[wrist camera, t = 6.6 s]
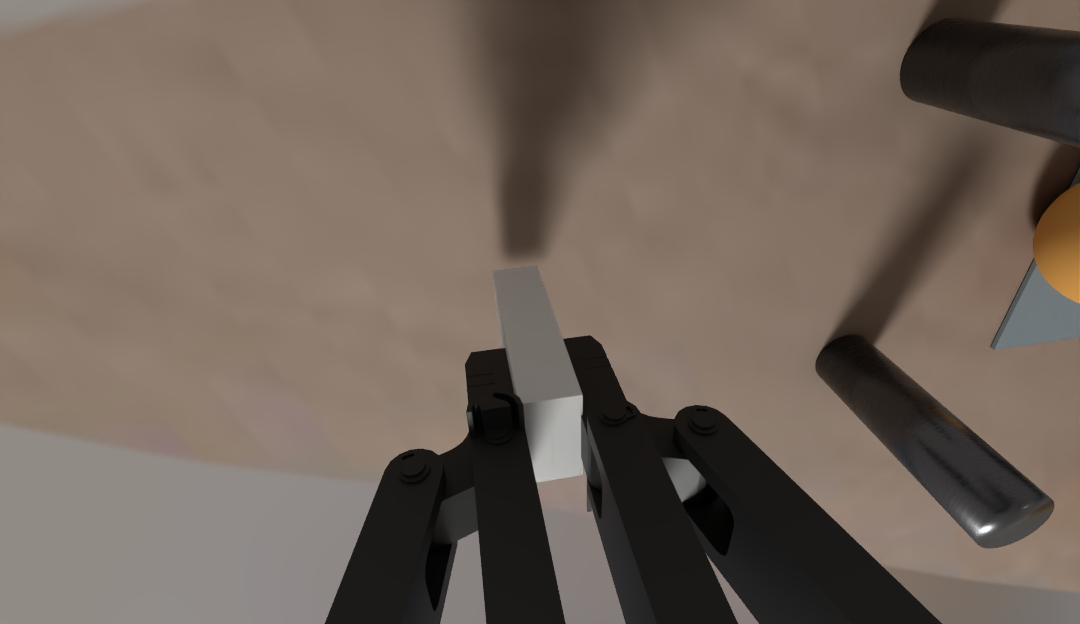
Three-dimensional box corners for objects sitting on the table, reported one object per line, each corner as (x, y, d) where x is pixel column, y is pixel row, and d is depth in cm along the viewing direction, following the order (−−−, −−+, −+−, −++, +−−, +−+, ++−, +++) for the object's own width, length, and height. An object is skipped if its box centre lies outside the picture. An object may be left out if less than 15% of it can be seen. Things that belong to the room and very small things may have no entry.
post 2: (876, 331, 25) (1068, 489, 17) (860, 376, 26) (1032, 540, 19) (822, 338, 25) (995, 503, 17) (810, 383, 26) (964, 553, 18)
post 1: (986, 16, 18) (1380, 53, 11) (957, 98, 19) (1288, 183, 12) (914, 20, 18) (1268, 63, 10) (890, 104, 19) (1186, 195, 12)
